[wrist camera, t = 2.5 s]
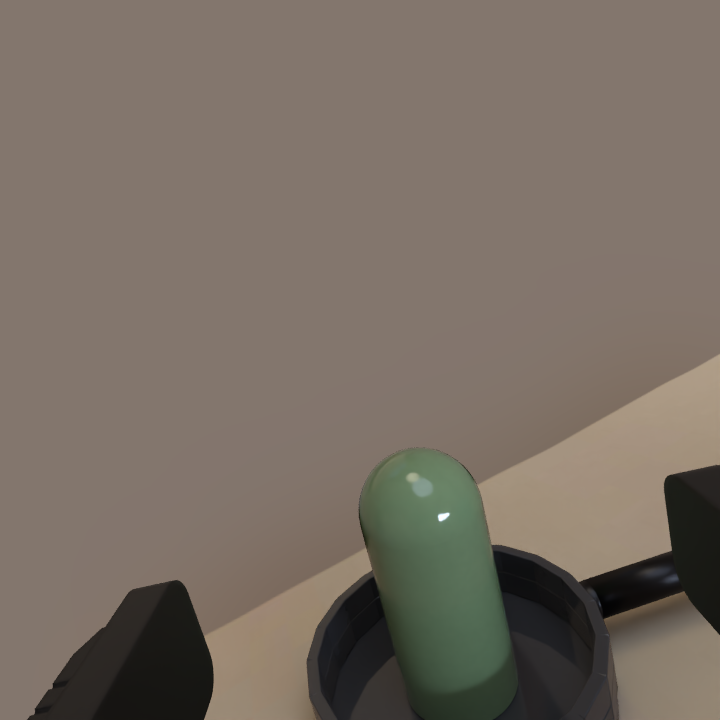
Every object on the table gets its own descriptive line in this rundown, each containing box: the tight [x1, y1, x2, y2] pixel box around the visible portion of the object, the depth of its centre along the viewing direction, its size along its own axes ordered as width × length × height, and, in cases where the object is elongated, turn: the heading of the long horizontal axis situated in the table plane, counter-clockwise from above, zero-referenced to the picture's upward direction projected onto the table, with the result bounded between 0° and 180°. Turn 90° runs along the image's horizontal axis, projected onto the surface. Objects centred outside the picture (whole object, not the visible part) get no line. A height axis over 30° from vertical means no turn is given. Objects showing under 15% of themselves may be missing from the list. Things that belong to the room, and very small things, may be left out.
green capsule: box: [359, 448, 518, 720], centre depth 21 cm, size 5×5×10 cm
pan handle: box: [579, 551, 684, 619], centre depth 23 cm, size 9×2×2 cm, turn 99°
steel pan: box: [307, 545, 619, 720], centre depth 22 cm, size 12×12×3 cm
